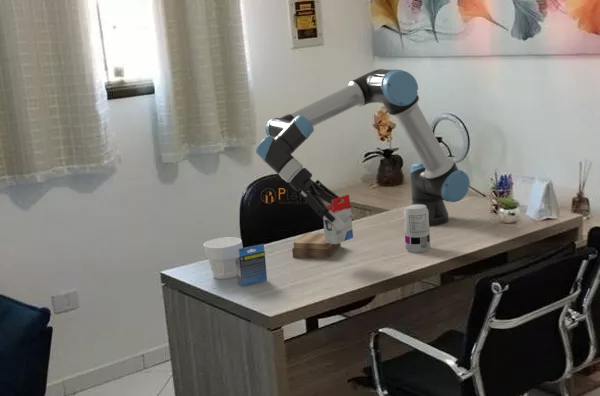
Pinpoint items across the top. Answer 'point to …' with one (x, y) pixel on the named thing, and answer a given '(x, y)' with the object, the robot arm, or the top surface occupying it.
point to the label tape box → (251, 266)
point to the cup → (223, 256)
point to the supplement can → (416, 228)
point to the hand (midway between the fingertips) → (347, 222)
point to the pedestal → (314, 246)
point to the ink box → (344, 214)
